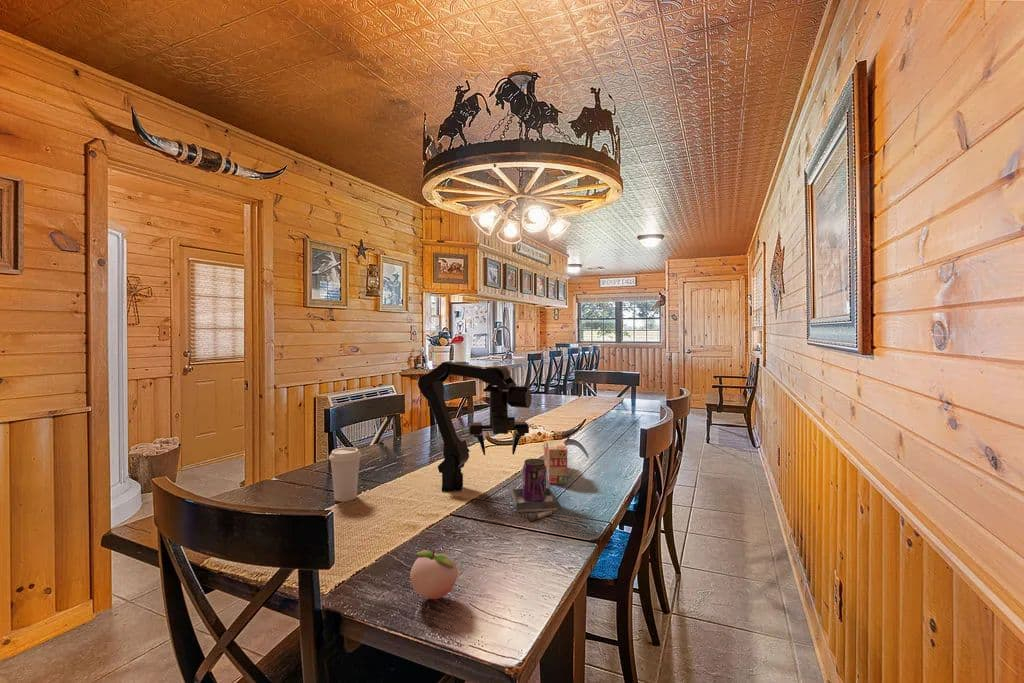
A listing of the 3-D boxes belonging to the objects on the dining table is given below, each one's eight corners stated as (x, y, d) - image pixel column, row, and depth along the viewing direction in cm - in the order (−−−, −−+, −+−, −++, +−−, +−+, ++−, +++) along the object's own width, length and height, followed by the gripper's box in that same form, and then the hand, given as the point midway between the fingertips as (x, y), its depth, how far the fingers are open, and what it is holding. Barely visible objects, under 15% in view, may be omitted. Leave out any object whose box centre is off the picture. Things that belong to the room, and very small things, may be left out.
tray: (516, 511, 137) (516, 503, 137) (511, 496, 149) (511, 489, 149) (557, 510, 138) (557, 501, 138) (549, 495, 151) (549, 487, 150)
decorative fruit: (400, 606, 91) (400, 555, 90) (423, 584, 98) (423, 537, 98) (443, 617, 87) (443, 564, 87) (463, 594, 95) (463, 545, 95)
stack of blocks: (543, 465, 183) (543, 434, 182) (559, 465, 183) (559, 434, 182) (549, 484, 161) (549, 448, 161) (567, 484, 161) (567, 448, 161)
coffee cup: (367, 497, 148) (367, 450, 148) (338, 506, 141) (337, 456, 141) (352, 490, 155) (351, 445, 154) (323, 498, 148) (323, 450, 147)
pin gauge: (531, 522, 130) (531, 515, 130) (526, 520, 131) (526, 513, 131) (553, 515, 134) (553, 508, 134) (548, 513, 136) (548, 506, 136)
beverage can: (539, 506, 140) (539, 466, 140) (518, 501, 144) (518, 462, 143) (549, 498, 146) (549, 460, 146) (529, 494, 150) (529, 456, 149)
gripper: (469, 411, 140) (470, 463, 141) (531, 409, 143) (531, 461, 143) (468, 405, 152) (469, 453, 152) (526, 403, 154) (526, 451, 154)
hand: (498, 454), depth 150 cm, fingers open, 9 cm apart
